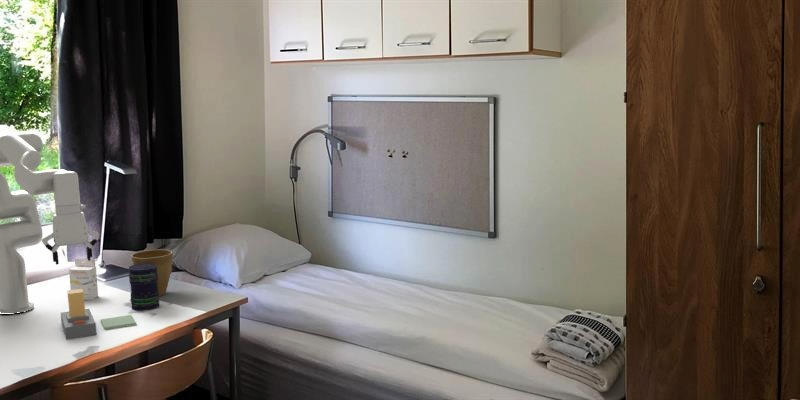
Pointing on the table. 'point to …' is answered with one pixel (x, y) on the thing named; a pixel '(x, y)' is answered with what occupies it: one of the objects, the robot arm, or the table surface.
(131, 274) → the storage jar
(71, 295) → the plug
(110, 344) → the table surface
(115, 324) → the mat
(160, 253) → the plant pot
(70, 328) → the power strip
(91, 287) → the ink cartridge box
